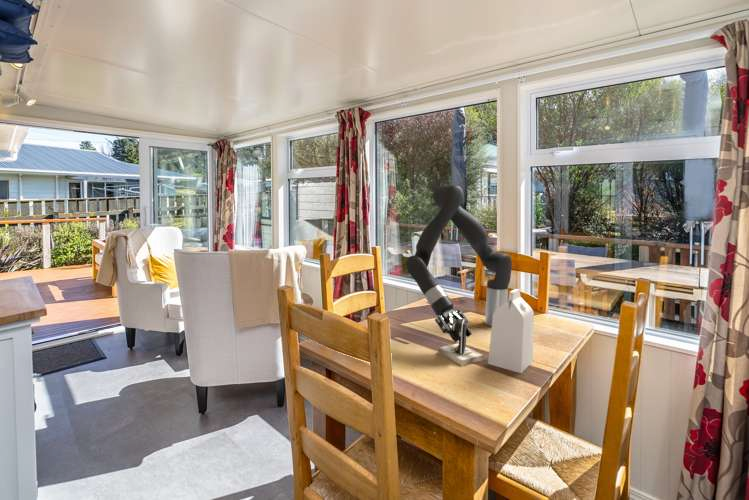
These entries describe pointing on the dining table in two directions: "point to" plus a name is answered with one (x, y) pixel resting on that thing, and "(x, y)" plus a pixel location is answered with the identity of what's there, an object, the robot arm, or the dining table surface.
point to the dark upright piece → (461, 335)
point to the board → (460, 355)
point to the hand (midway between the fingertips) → (463, 338)
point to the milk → (512, 334)
